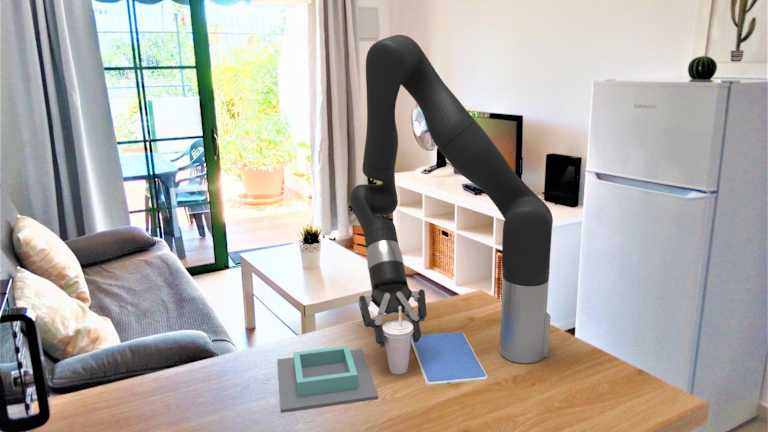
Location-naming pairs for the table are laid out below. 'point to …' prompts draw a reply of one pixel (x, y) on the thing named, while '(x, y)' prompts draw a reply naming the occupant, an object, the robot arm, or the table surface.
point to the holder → (324, 378)
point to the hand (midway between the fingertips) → (399, 343)
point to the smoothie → (398, 343)
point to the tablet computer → (447, 359)
